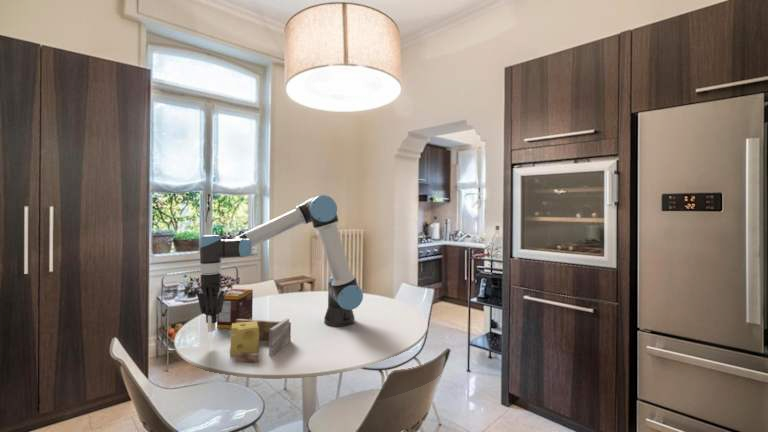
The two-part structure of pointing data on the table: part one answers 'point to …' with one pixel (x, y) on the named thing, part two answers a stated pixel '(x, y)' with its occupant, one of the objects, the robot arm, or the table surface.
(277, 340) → the shelf
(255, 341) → the cheese
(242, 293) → the supplement box
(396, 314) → the table surface
